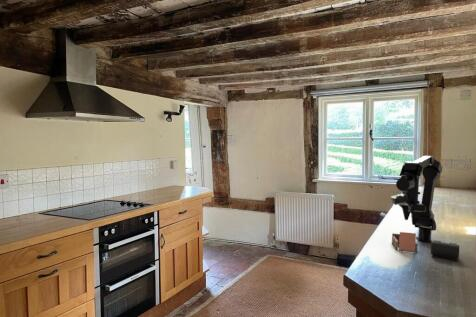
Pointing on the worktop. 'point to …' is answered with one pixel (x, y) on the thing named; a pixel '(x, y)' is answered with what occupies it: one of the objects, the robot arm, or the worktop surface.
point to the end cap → (445, 250)
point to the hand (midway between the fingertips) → (409, 222)
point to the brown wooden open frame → (396, 241)
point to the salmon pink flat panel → (407, 242)
